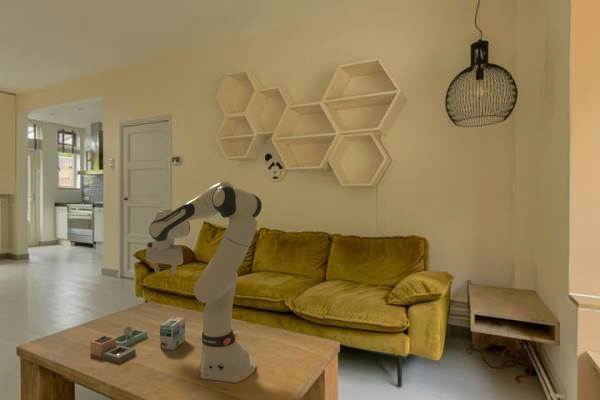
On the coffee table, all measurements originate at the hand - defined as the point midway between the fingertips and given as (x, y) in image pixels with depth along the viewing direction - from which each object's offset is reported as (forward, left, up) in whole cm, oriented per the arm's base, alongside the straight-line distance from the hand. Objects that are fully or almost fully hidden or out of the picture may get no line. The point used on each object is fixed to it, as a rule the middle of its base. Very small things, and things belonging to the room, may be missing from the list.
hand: (164, 272), depth 159 cm
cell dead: (+11, +23, -30) cm, 40 cm away
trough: (+11, +11, -31) cm, 35 cm away
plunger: (+2, +23, -30) cm, 38 cm away
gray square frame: (+2, +23, -31) cm, 39 cm away
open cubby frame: (+11, +23, -31) cm, 40 cm away
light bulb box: (-9, +4, -31) cm, 33 cm away
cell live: (+11, +11, -30) cm, 34 cm away
